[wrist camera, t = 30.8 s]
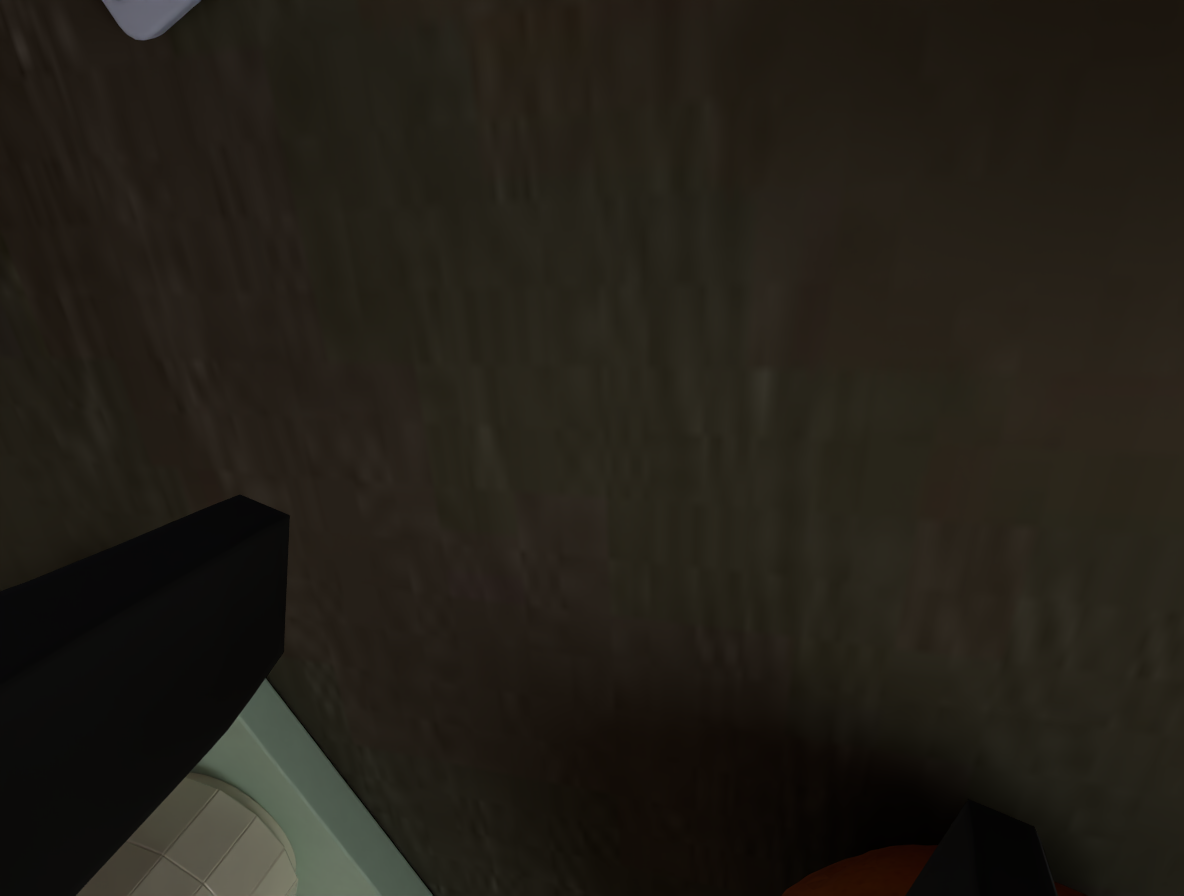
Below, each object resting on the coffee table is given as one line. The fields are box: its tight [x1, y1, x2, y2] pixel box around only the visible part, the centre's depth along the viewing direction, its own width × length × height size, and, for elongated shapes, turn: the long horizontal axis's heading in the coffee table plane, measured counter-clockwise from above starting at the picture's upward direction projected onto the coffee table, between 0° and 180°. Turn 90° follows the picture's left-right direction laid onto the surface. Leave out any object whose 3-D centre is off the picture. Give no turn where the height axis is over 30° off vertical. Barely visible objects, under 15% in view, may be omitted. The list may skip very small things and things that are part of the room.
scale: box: [191, 678, 433, 896], centre depth 30 cm, size 14×12×3 cm
